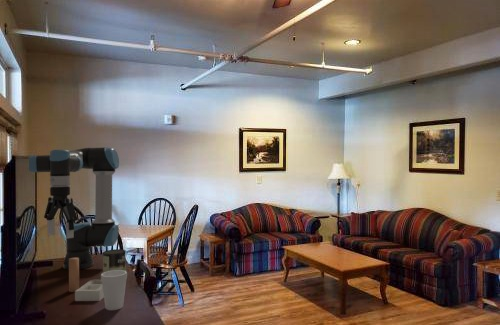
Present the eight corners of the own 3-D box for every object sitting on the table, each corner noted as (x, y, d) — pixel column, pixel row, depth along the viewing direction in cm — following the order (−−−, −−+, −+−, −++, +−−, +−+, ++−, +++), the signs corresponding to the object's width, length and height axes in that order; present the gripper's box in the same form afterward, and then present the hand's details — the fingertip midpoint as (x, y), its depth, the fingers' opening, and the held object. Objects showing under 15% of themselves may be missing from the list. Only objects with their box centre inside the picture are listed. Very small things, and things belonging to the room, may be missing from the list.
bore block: (91, 288, 170) (91, 279, 170) (114, 288, 170) (114, 279, 170) (75, 301, 154) (74, 291, 154) (99, 300, 154) (99, 290, 154)
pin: (71, 289, 169) (71, 257, 169) (80, 289, 169) (80, 257, 169) (67, 292, 165) (67, 259, 165) (76, 292, 165) (76, 259, 165)
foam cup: (101, 313, 140) (101, 278, 140) (100, 305, 149) (100, 271, 149) (128, 309, 144) (128, 274, 144) (126, 301, 153) (125, 268, 153)
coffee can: (130, 278, 184) (129, 249, 184) (118, 285, 173) (118, 254, 174) (110, 277, 186) (110, 248, 186) (98, 284, 176) (98, 253, 176)
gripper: (34, 186, 164) (35, 235, 164) (69, 187, 151) (69, 240, 151) (51, 185, 171) (52, 232, 171) (86, 186, 158) (86, 237, 157)
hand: (60, 236), depth 161 cm, fingers open, 13 cm apart
